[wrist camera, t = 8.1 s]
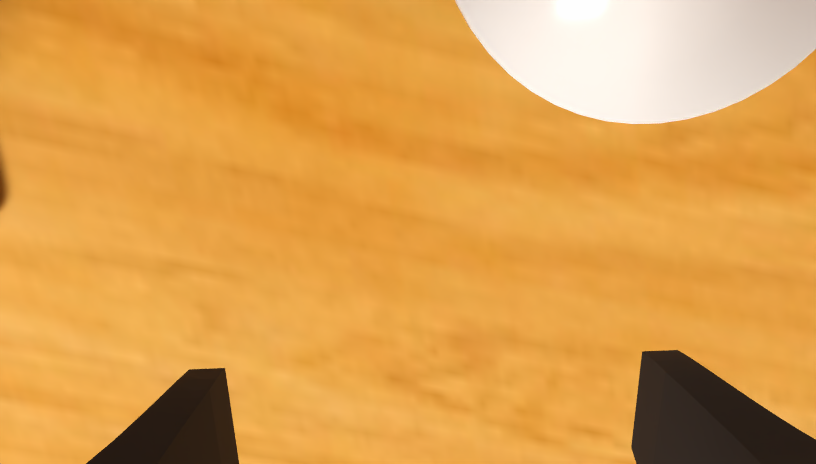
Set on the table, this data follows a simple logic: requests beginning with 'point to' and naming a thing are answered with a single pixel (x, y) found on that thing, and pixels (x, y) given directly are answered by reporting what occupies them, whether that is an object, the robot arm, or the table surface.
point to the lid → (644, 51)
